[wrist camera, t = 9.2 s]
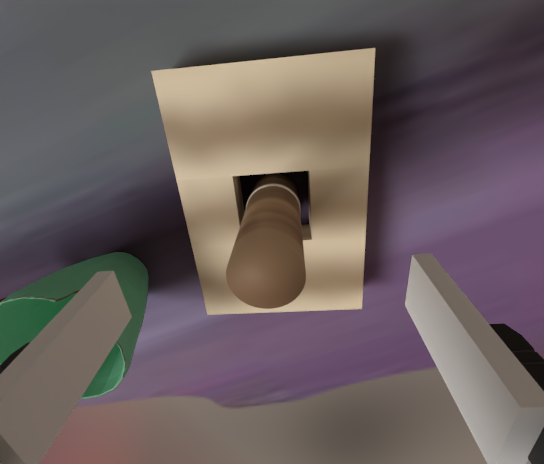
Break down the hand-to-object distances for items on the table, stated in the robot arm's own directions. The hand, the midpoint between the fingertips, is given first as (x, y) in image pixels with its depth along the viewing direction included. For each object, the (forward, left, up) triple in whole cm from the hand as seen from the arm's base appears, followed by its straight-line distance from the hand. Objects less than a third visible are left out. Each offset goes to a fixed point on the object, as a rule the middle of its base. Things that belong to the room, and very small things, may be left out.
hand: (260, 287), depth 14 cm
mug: (+7, -18, -14) cm, 24 cm away
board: (0, 0, -13) cm, 13 cm away
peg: (0, 0, -14) cm, 13 cm away
